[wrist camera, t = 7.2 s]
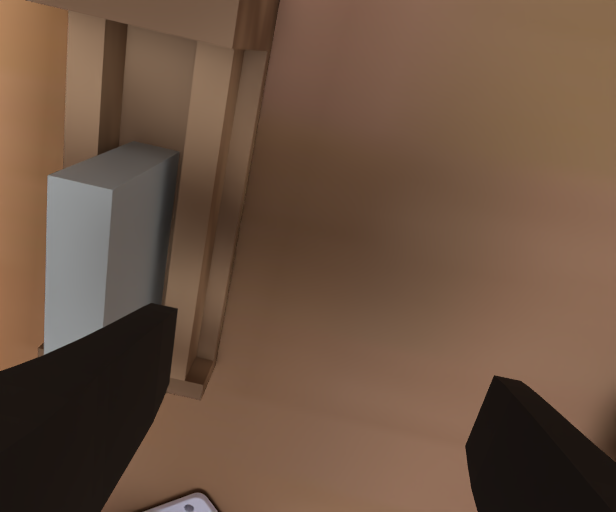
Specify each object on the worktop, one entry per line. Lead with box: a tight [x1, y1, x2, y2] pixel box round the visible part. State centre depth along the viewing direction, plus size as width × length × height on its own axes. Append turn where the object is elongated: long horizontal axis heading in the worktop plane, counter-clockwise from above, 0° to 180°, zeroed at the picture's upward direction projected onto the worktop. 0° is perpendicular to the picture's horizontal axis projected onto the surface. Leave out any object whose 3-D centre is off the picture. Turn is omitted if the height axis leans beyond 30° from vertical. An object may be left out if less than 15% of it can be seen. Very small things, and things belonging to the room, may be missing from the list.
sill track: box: [26, 0, 280, 400], centre depth 18 cm, size 16×7×7 cm, turn 168°
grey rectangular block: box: [44, 141, 180, 355], centre depth 18 cm, size 7×2×6 cm, turn 168°
